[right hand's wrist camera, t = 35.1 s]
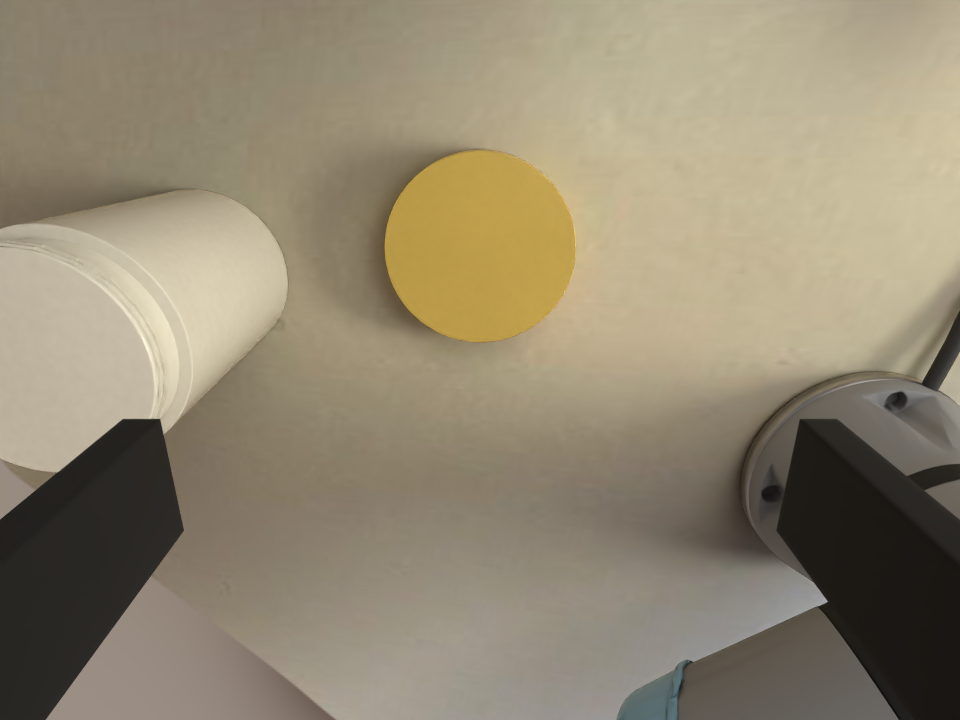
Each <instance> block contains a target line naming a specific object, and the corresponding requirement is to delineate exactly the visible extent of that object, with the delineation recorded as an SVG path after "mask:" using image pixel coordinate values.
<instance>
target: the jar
mask: <svg viewBox="0 0 960 720" xmlns="http://www.w3.org/2000/svg"><path fill="white" fill-rule="evenodd" d="M287 292H288V274H287V269H286V264H285V260H284V257H283V254H282V252H281V249H280V247H279V245H278V243H277V241H276V240H275V238H274V236H273V235H272V233H271V232H270V231H269V229H268V228H267V227H266V225H265V224H264V223H263V222H262V221H261V220H260V219H259V218H258V217H257V216H256V215H255V214H254V213H252V212H251V211H250V210H249V209H247V208H246V207H245V206H243V205H241V204H240V203H238V202H237V201H235V200H233V199H230V198H228V197H226V196H224V195H221V194H218V193H215V192H211V191H206V190H198V189H184V190H176V191H171V192H167V193H162V194H157V195H153V196H148V197H143V198H139V199H134V200H129V201H124V202H120V203H115V204H110V205H106V206H101V207H96V208H92V209H87V210H82V211H78V212H73V213H68V214H64V215H59V216H54V217H50V218H45V219H40V220H36V221H31V222H26V223H22V224H17V225H12V226H8V227H3V228H0V459H2V460H4V461H7V462H9V463H12V464H15V465H18V466H21V467H25V468H29V469H33V470H39V471H45V472H59V471H60V470H61V469H62V468H64V467H65V466H66V465H67V464H69V463H70V462H71V461H72V460H73V459H75V458H76V457H77V456H78V455H80V454H81V453H82V452H83V451H84V450H86V449H87V448H88V447H89V446H90V445H92V444H93V443H94V442H95V441H97V440H98V439H99V438H100V437H101V436H103V435H104V434H105V433H106V432H108V431H109V430H110V429H111V428H112V427H114V426H115V425H116V424H117V423H118V422H120V421H121V420H122V419H160V420H161V425H162V430H163V434H165V433H166V432H167V431H168V430H169V429H170V428H171V427H172V426H173V425H174V424H175V423H176V422H177V421H178V420H180V419H181V418H182V417H183V416H184V415H185V414H186V413H187V412H188V411H189V410H190V409H191V408H192V407H193V406H194V405H195V404H196V403H197V402H198V401H199V400H200V399H201V398H202V397H203V396H204V395H205V394H206V393H207V392H208V391H209V390H210V389H211V388H212V387H213V386H214V385H215V384H216V383H217V382H218V381H219V380H220V379H221V378H222V377H223V376H224V375H226V374H227V373H228V372H229V371H230V370H231V369H232V368H233V367H234V366H235V365H236V364H237V363H238V362H239V361H240V360H241V359H242V358H243V357H244V356H245V355H246V354H247V353H248V352H249V351H250V350H251V349H252V348H253V347H254V346H255V345H256V344H257V343H258V342H259V341H260V340H261V339H262V338H263V337H264V336H265V335H266V334H267V333H268V332H269V331H270V330H271V329H272V328H273V327H274V325H275V324H276V323H277V321H278V319H279V318H280V316H281V314H282V312H283V309H284V306H285V303H286V299H287Z"/></svg>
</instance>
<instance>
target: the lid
mask: <svg viewBox="0 0 960 720" xmlns="http://www.w3.org/2000/svg"><path fill="white" fill-rule="evenodd" d="M384 247H385V260H386V266H387V270H388V274H389V277H390V280H391V283H392V285H393V287H394V289H395V291H396V293H397V295H398V296H399V298H400V300H401V301H402V303H403V304H404V305H405V306H406V307H407V309H408V310H409V311H410V312H411V313H412V314H413V315H414V316H415V317H416V318H417V319H418V320H419V321H421V322H422V323H423V324H425V325H426V326H427V327H429V328H431V329H433V330H434V331H436V332H438V333H440V334H443V335H445V336H448V337H450V338H454V339H458V340H462V341H469V342H491V341H498V340H503V339H507V338H510V337H513V336H515V335H518V334H520V333H522V332H524V331H526V330H528V329H530V328H531V327H533V326H534V325H536V324H537V323H539V322H540V321H541V320H542V319H543V318H544V317H546V316H547V315H548V314H549V313H550V311H551V310H552V309H553V308H554V307H555V306H556V305H557V303H558V302H559V300H560V299H561V297H562V296H563V294H564V292H565V290H566V288H567V286H568V284H569V281H570V278H571V275H572V273H573V268H574V263H575V256H576V236H575V230H574V225H573V221H572V218H571V215H570V212H569V209H568V207H567V205H566V203H565V201H564V199H563V198H562V196H561V194H560V193H559V191H558V190H557V188H556V187H555V186H554V185H553V184H552V183H551V182H550V180H549V179H548V178H547V177H545V176H544V175H543V174H542V173H541V172H540V171H538V170H537V169H536V168H535V167H533V166H532V165H530V164H528V163H527V162H525V161H524V160H522V159H520V158H517V157H515V156H513V155H510V154H507V153H504V152H500V151H494V150H481V149H475V150H466V151H461V152H457V153H453V154H450V155H448V156H445V157H443V158H441V159H439V160H437V161H435V162H434V163H432V164H430V165H429V166H427V167H426V168H425V169H424V170H422V171H421V172H420V173H418V174H417V175H416V176H415V177H414V178H413V179H412V180H411V181H410V182H409V183H408V184H407V185H406V187H405V188H404V189H403V191H402V192H401V194H400V195H399V197H398V198H397V200H396V202H395V204H394V206H393V208H392V211H391V213H390V216H389V219H388V223H387V227H386V232H385V242H384Z"/></svg>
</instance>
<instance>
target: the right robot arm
mask: <svg viewBox="0 0 960 720" xmlns="http://www.w3.org/2000/svg"><path fill="white" fill-rule="evenodd" d="M959 352H960V311H959V313H958V315H957V317H956V319H955V321H954V323H953V325H952V327H951V330H950V332H949V334H948V336H947V338H946V340H945V342H944V344H943V346H942V347H941V349H940V351H939V353H938V355H937V357H936V358H935V360H934V362H933V364H932V366H931V367H930V369H929V371H928V373H927V375H926V376H925V378H924V380H923V382H922V381H920V380H918V379H915V378H913V377H910V376H906V375H902V374H897V373H890V372H863V373H856V374H850V375H846V376H841V377H838V378H835V379H832V380H829V381H826V382H824V383H821V384H819V385H817V386H815V387H813V388H811V389H809V390H807V391H805V392H803V393H802V394H800V395H798V396H797V397H795V398H794V399H792V400H791V401H790V402H788V403H787V404H786V405H785V406H783V407H782V408H781V409H780V410H779V411H778V412H777V413H776V414H775V415H774V416H773V417H772V418H771V419H770V420H769V421H768V422H767V423H766V424H765V426H764V427H763V428H762V429H761V431H760V432H759V434H758V435H757V436H756V438H755V440H754V442H753V443H752V445H751V447H750V449H749V451H748V454H747V456H746V459H745V462H744V465H743V470H742V474H741V500H742V504H743V508H744V511H745V514H746V516H747V518H748V520H749V522H750V524H751V525H752V527H753V528H754V530H755V531H756V533H757V534H758V536H759V537H760V539H761V540H762V541H763V543H764V544H765V545H766V546H767V547H768V548H769V549H770V550H771V551H772V552H773V553H774V554H775V555H776V556H777V557H778V558H779V559H780V560H782V561H783V562H784V563H786V564H787V565H789V566H790V567H792V568H793V569H795V570H796V571H798V572H799V573H801V574H802V575H804V576H805V577H807V578H808V579H810V580H811V581H813V582H814V583H815V584H816V586H817V587H818V588H819V590H820V591H821V593H822V594H823V595H824V597H825V598H826V599H827V601H828V602H827V603H825V604H823V605H821V606H818V607H815V608H812V609H810V610H808V611H806V612H804V613H801V614H799V615H797V616H795V617H793V618H790V619H788V620H786V621H784V622H782V623H779V624H777V625H775V626H773V627H771V628H769V629H766V630H764V631H762V632H760V633H758V634H755V635H753V636H751V637H749V638H747V639H744V640H742V641H740V642H738V643H736V644H733V645H731V646H729V647H727V648H725V649H722V650H720V651H718V652H716V653H713V654H711V655H709V656H706V657H704V658H702V659H700V660H697V661H695V662H692V661H689V660H688V659H687V660H685V661H683V662H681V663H679V664H678V665H677V667H676V668H675V670H673V671H672V672H670V673H668V674H666V675H664V676H662V677H660V678H658V679H656V680H654V681H652V682H651V683H649V684H647V685H645V686H643V687H641V688H639V689H637V690H636V691H634V692H633V693H632V694H630V695H629V696H628V697H627V699H626V700H625V701H624V703H623V704H622V706H621V708H620V711H619V713H618V716H617V720H960V406H959V405H958V404H957V403H956V402H955V401H953V400H952V399H951V398H950V397H948V396H947V395H945V394H944V393H942V392H941V391H939V390H938V389H939V388H940V386H941V384H942V382H943V381H944V379H945V377H946V375H947V374H948V372H949V370H950V368H951V366H952V365H953V363H954V361H955V359H956V358H957V356H958V354H959ZM183 531H184V529H183V524H182V520H181V515H180V510H179V505H178V501H177V496H176V491H175V486H174V482H173V477H172V472H171V468H170V463H169V458H168V453H167V449H166V444H165V439H164V434H163V430H162V425H161V420H160V419H122V420H121V421H120V422H118V423H117V424H116V425H115V426H114V427H112V428H111V429H110V430H109V431H108V432H106V433H105V434H104V435H103V436H101V437H100V438H99V439H98V440H97V441H95V442H94V443H93V444H92V445H90V446H89V447H88V448H87V449H86V450H84V451H83V452H82V453H81V454H80V455H78V456H77V457H76V458H75V459H73V460H72V461H71V462H70V463H69V464H67V465H66V466H65V467H64V468H62V469H61V470H60V471H59V472H58V473H56V474H55V475H54V476H53V477H52V478H50V479H49V480H48V481H47V482H45V483H44V484H43V485H42V486H41V487H39V488H38V489H37V490H36V491H34V492H33V493H32V494H31V495H30V496H28V497H27V498H26V499H25V500H24V501H22V502H21V503H20V504H19V505H17V506H16V507H15V508H14V509H13V510H11V511H10V512H9V513H8V514H6V515H5V516H4V517H3V518H2V519H0V720H46V718H47V717H48V716H49V714H50V713H51V712H52V710H53V709H54V707H55V706H56V705H57V703H58V702H59V701H60V699H61V698H62V697H63V695H64V694H65V692H66V691H67V690H68V688H69V687H70V685H71V684H72V683H73V681H74V680H75V679H76V677H77V676H78V675H79V673H80V672H81V671H82V669H83V668H84V666H85V665H86V664H87V662H88V661H89V660H90V658H91V657H92V655H93V654H94V653H95V651H96V650H97V649H98V647H99V646H100V645H101V643H102V642H103V640H104V639H105V638H106V636H107V635H108V634H109V632H110V631H111V629H112V628H113V627H114V625H115V624H116V623H117V621H118V620H119V619H120V617H121V616H122V614H123V613H124V612H125V610H126V609H127V608H128V606H129V605H130V604H131V602H132V601H133V599H134V598H135V597H136V595H137V594H138V592H139V591H140V590H141V588H142V587H143V586H144V584H145V583H146V582H147V580H148V579H149V578H150V576H151V575H152V573H153V572H154V571H155V569H156V568H157V567H158V565H159V564H160V562H161V561H162V560H163V558H164V557H165V556H166V554H167V553H168V552H169V550H170V549H171V547H172V546H173V545H174V543H175V542H176V541H177V539H178V538H179V537H180V535H181V534H182V532H183Z"/></svg>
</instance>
